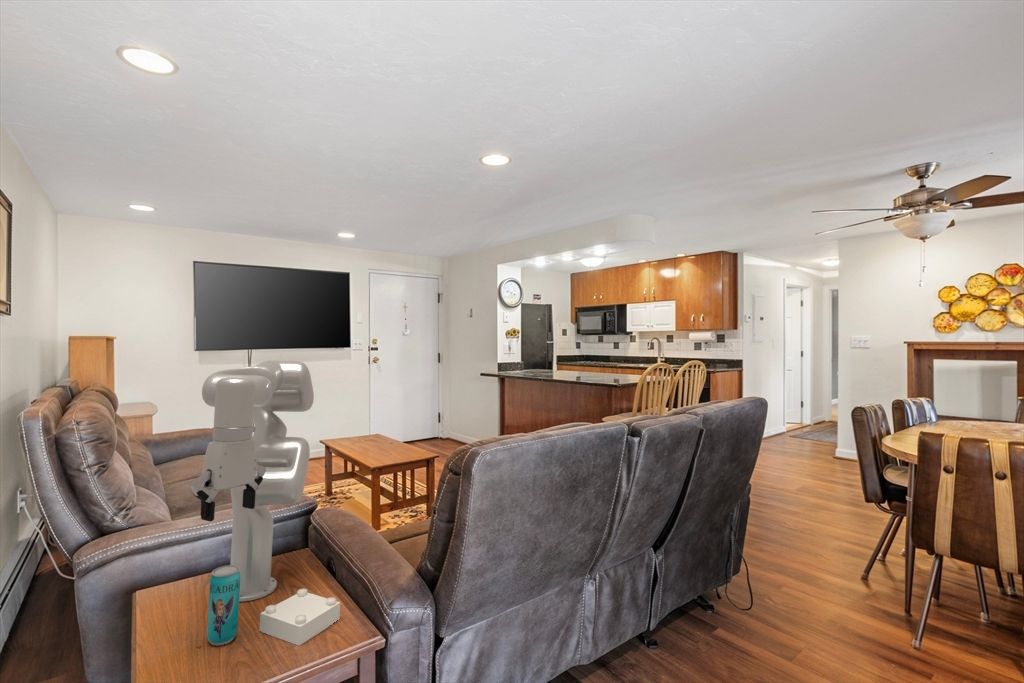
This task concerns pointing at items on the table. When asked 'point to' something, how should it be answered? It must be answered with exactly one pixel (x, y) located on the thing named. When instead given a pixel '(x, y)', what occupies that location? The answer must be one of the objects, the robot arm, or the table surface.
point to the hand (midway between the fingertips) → (228, 513)
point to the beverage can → (223, 604)
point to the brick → (299, 617)
